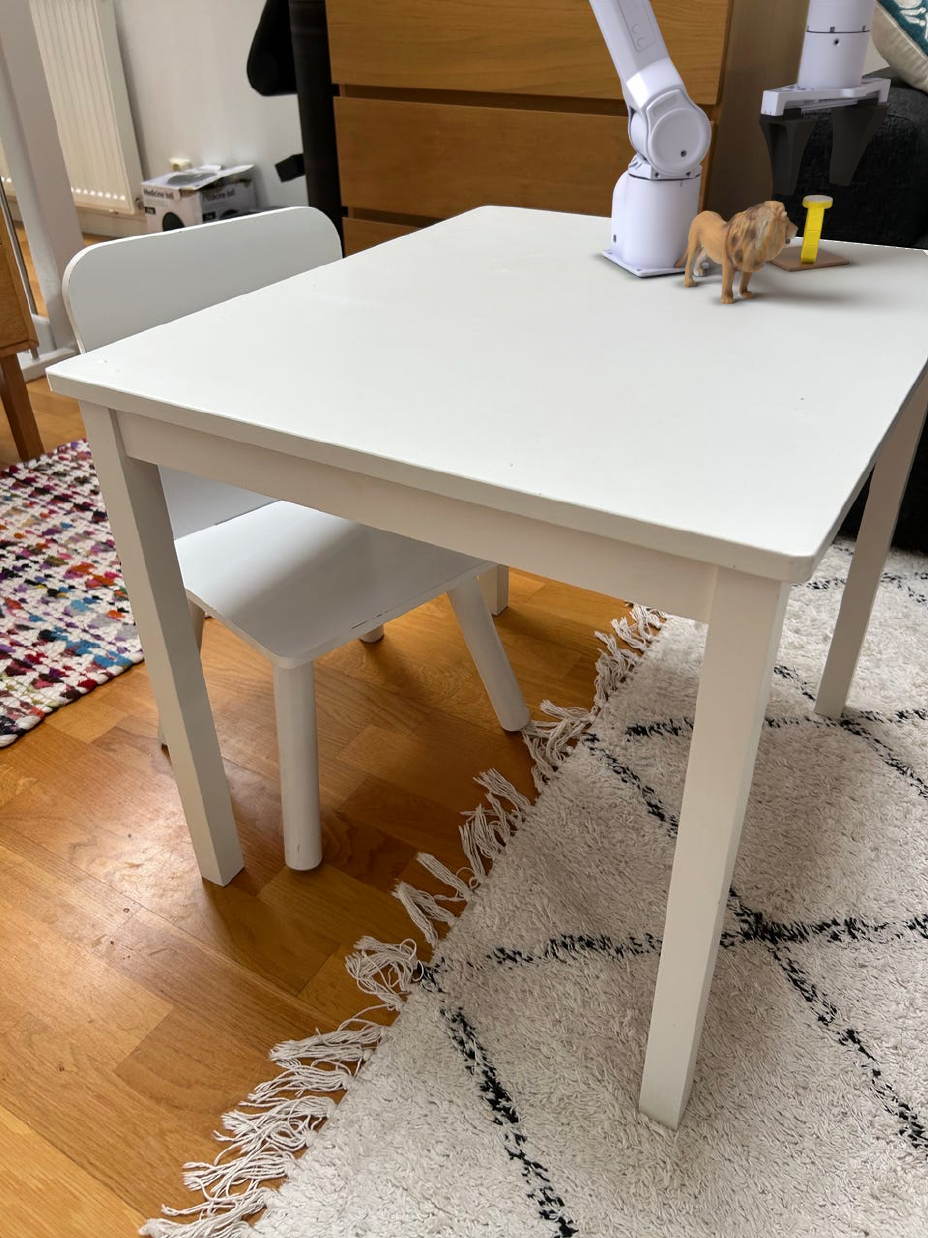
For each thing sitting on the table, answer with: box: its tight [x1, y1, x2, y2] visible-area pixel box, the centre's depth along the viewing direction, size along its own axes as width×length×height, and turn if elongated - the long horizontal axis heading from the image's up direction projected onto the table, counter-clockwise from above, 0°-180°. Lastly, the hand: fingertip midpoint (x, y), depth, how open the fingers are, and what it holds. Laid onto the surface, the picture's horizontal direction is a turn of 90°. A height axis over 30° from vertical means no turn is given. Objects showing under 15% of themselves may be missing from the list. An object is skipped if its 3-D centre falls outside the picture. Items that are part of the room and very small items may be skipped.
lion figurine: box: [673, 200, 799, 305], centre depth 90 cm, size 15×5×9 cm, turn 30°
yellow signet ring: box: [801, 194, 834, 263], centre depth 97 cm, size 6×3×6 cm, turn 163°
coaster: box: [767, 245, 850, 272], centre depth 100 cm, size 7×7×1 cm
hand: (811, 188), depth 96 cm, fingers open, 7 cm apart
